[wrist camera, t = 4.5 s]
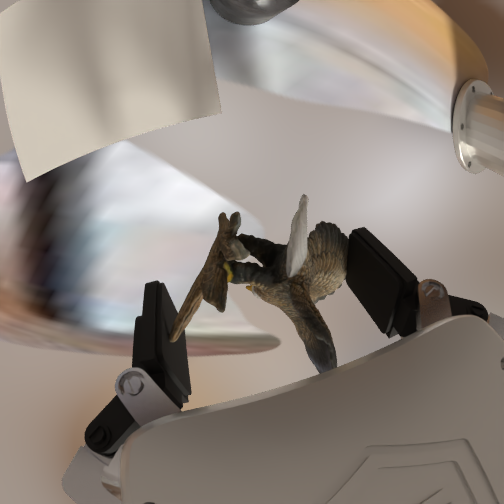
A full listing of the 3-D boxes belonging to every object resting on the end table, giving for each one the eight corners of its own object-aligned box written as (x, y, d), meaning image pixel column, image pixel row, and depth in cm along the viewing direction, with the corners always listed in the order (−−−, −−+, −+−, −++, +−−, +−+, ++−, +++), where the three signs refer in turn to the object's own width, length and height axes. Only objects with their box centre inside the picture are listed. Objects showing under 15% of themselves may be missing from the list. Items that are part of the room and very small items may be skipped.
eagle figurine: (158, 317, 13) (297, 373, 16) (176, 374, 6) (382, 423, 9) (228, 184, 14) (346, 263, 17) (300, 128, 8) (441, 264, 10)
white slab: (187, -44, 9) (191, -63, 7) (214, 110, 16) (222, 113, 14) (16, 21, 7) (-3, 15, 5) (44, 169, 15) (26, 182, 12)
